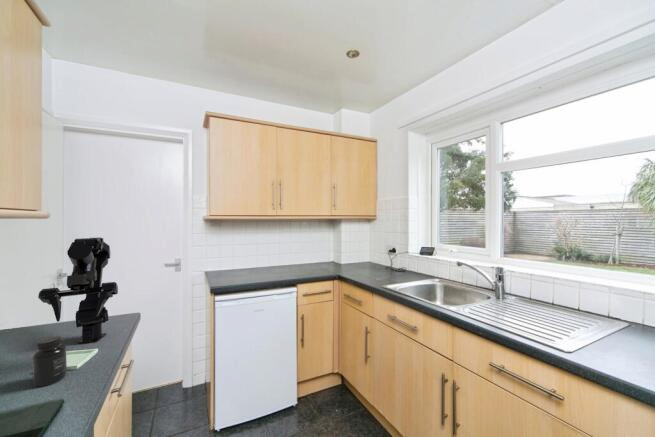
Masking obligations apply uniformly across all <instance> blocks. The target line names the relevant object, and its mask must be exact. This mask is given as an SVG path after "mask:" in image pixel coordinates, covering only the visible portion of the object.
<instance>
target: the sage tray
mask: <svg viewBox="0 0 655 437" xmlns="http://www.w3.org/2000/svg"><path fill="white" fill-rule="evenodd" d="M98 353H99V348H90V349H80V350H69V351H67V350H66V360H67V371H73V370H76V371H77V370H78V369H79V368H81V367H82V366H83V365H84V364H85V363H86V362H88V361H89V360H90V359H91V358H93V357H94V356H95V355H96V354H98Z"/></svg>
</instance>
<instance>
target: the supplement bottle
mask: <svg viewBox="0 0 655 437" xmlns="http://www.w3.org/2000/svg"><path fill="white" fill-rule="evenodd" d="M36 345H37V347H36V348H37V351H36V352H34V353H33V355H32V373H33V374H32V375H33V376H32V377H33V385H34V386H35V387H38V388H39V387H46V386H51V385H53V384H56V383H58V382H60V381H62V380H63V379H65V378H66V376H67V374H68V370H67V360H66V351H67V348H66V347H67V346H65V345H64V344H62V336H59V335H55V336H49V337H46V338H42V339H41V340H39V341H37V344H36Z"/></svg>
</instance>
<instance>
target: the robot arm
mask: <svg viewBox="0 0 655 437" xmlns="http://www.w3.org/2000/svg"><path fill="white" fill-rule="evenodd" d="M110 247H111V246H110V245H109V244H108V243H106V242H105V241H104V237H100V236H99V237H88V238H85V237H84V238H75V239H74V241H72V242H71V244H70V246H69V248H68V249H67V256H68V258H69V260H70V262H71V264H72V266H73V267H72V272H71V275H70V274H69V275H66V287H67V289H66V290H65V289H64V290H60V288H58V287H52V288H51V287H49V288H42V289H41V290H40V291H39V292H38V297H37V298H38V299H39V300H40V301H41V302H42V303H45V304H47V305H49V306H50V305H51V307H52V311H53V313H54V317H55V319H56V322H60V321H61V314H62V304H63V303H62V301H61V299H62V298H63V297H72V296H80V295H81V296H82V295H85V298H84V299H81V300H80V302H79V305H78V310H76V311H75V326H76V328H81V339H80V340H78V341H77V344H85V343H97V342H99V341H100V340H101V339H103V338H104V337H106V336H107V332H105V333H103V324H105V323H106V322H108V321H109V313H108V311H109V310H107V306H105V304H106V303H107V302H108V300H109V299H110V298H113V297H114V296H115V295H118V294H119V286H118V283H117V282H115V281H112V282H111V281H110V282H102V281H103V280H102V278H103V270H104V268H106V266H108V264H109V260H110V259H111V248H110Z"/></svg>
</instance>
